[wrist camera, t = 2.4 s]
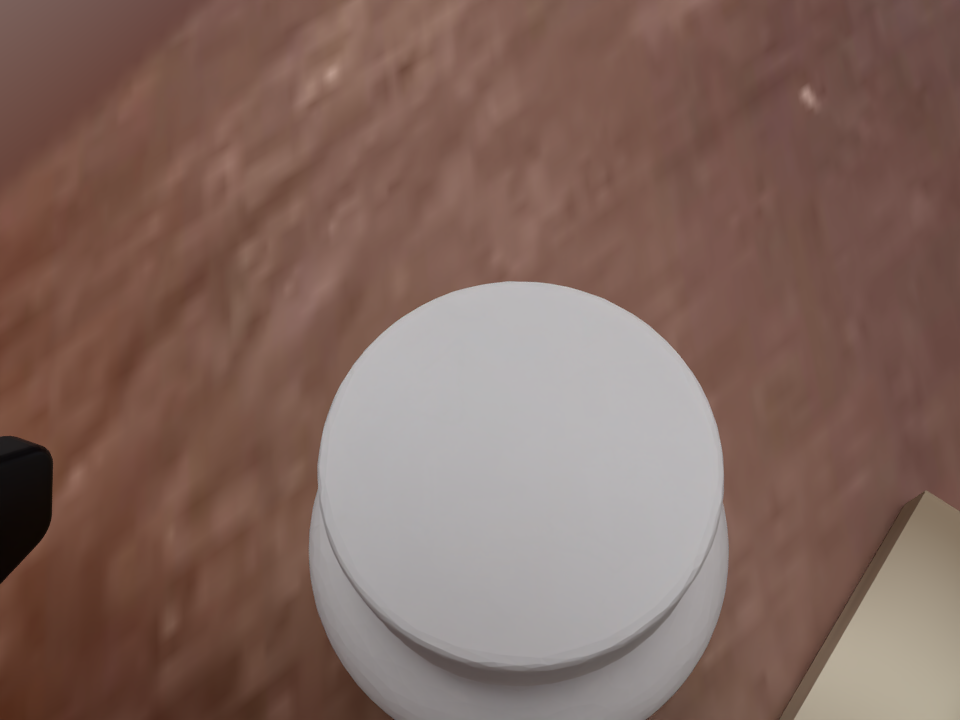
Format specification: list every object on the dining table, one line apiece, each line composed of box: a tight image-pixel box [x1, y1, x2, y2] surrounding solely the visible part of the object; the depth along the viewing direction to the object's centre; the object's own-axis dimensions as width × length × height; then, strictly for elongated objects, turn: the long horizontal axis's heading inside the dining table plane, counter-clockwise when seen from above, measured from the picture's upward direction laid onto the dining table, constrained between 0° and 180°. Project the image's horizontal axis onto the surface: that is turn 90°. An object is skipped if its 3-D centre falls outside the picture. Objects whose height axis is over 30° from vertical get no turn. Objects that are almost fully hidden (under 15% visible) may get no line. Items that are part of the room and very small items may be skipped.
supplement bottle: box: [309, 281, 729, 720], centre depth 12 cm, size 5×5×10 cm
